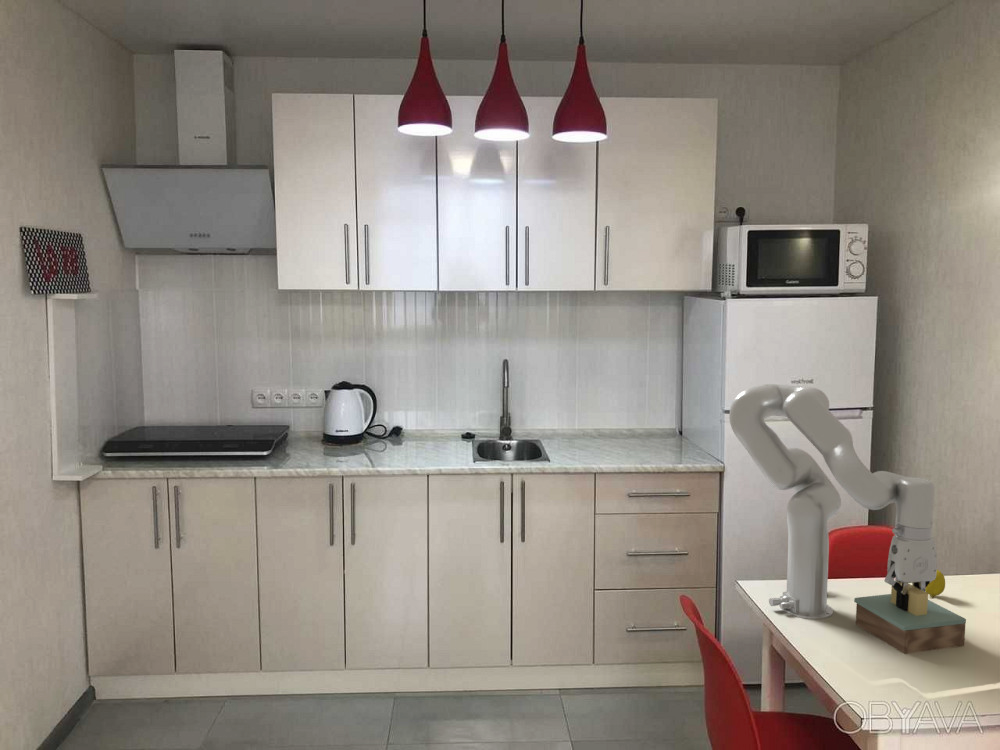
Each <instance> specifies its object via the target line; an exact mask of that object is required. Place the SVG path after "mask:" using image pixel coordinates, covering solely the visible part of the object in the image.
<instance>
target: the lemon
mask: <svg viewBox="0 0 1000 750" xmlns="http://www.w3.org/2000/svg"><path fill="white" fill-rule="evenodd" d="M945 588H946V578H945V575H944V574H943V573H942V571H940V569H937V574H936V579H935V580H933V581H932V582H930V583H929V584H928V586H927V587H926V588H925V592H926V593H928V596H930V597H931V598H935V597H936V596H939V595H941V594H943V592H944V591H945Z"/></svg>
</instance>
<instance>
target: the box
mask: <svg viewBox="0 0 1000 750" xmlns="http://www.w3.org/2000/svg"><path fill="white" fill-rule="evenodd" d="M855 607H856V608H855V610H856V611H855V612H856V613H855V625H856V626H858V627H860V628H861V629H863V630H864V631H866V632H867V633H868V634H871V635H873V637H876V638H878V639H879V640H881V641H882V642H884V643H886V644H888V645H889V646H890V647H892V648H894V649H895V650H897V651H899V652H900V653H902V654H903V655H905V654H912V653H920V652H927V651H934V650H942V649H949V648H951V649H952V648H957V647H964V646H965V639H966V638H965V637H966V623H964V624H956V625H948V626H939V627H931V628H923V629H915V630H906V631H903V630H902V629H900V628H898V627H897V626H895V625H893V624H891V623H890V622H888V621H886V620H885V619H883V618H881V617H879V616H878V615H876V614H874V613H873V612H871V611H869V610H867V609H866V608H864V607H862V606H861V605H859V604H857V603H856V606H855Z"/></svg>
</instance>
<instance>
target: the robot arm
mask: <svg viewBox="0 0 1000 750" xmlns="http://www.w3.org/2000/svg"><path fill="white" fill-rule="evenodd" d="M728 416H729V417H728V418H729V424H730V427H731V430H732V432H733V434H734V436H736V438H737V440H738V441H739V442H740V443H741V445H742V446H743V447H744V449H745V450H746V452H747V453H748V454H749V456H750V457H751V458H752V461H754V463H755V464H756V466H757V467H758V469H759V470H760V472H761V473H762V474H763V475H764V477H765V478H766V480H767V481H768V482H769V484H770V485H771V486H772V487H774V488H775V489H776V490H779V491H788V490H791V489H792V490H793V491H794V494H793V495H792V496H791V498H790V499H789V501H788V503H787V505H786V523H787V535H788V537H787V539H788V540H787V569H786V570H787V571H786V573H787V575H786V591H782V595H781V596H779V597H773V598H772V597H771V598H769V599H768V604H769V606H770V607H777V606H779V608H780V609H781V611H783V612H784V613H786V614H787V615H791V616H793V617H797V618H799V619H800V618H801V619H806V620H807V619H808V620H823V619H827V618H829V617H831V616H833V615H834V611H833V608H832V606H830V605H829V604H827V603H828V601H827V600H828V577H829V556H830V555H829V551H830V550H829V549H830V548H829V547H830V542H829V541H830V537H829V531H828V522H829V520H831V519H832V518H834V516H836V515H837V513H839V511H840V509H841V506H842V498H841V495H840V494H839V490H838V489H837V488H836V486H835V485H834V483H833V482H832V481H831V479H829V478H830V477H828V476H827V474H826V473H825V472H824V470H823V469H822V468H821V466H820V465H819V464H818V462H817V461H816V460H815V458H813V456H812V455H810V454H809V453H808V452H807V451H805V450H803V449H802V448H798V447H790V448H789V447H788V448H787V446H786V445H785V444H784V443H783V441H782V440H781V438H780V437H779V436H778V434H777V433H776V431H774V430H773V429H772V427H770V426H768V424H767V423H766V421H765V419H767V418H769V417H772V416H773V417H774V416H775V417H784V418H787V420H789V422H790V423H792V425H793V426H794V427H795V428H796V429H797V430H798V431H799V432H800V433H801V434H802V435H803V437H805V438H806V439H807V440H808V441H809V443H811V444H812V446H813V447H814V448H815V449H816V450H817V451H818V452H819V453H820V454H821V456H822V457H823V460H824V462H825V463H826V466H827V467H828V468H829V470H830V472H831V474H832V476H833V477H834V478H835V480H836V482H838V484H839V485H840V487H841V488H843V489H844V490H845V492H846V493H847V494H848V495H850V497H851V498H852V499H853V500H854V501H855V502H857V503H858V504H859V506H861V507H863V508H865V509H868V510H872V511H876V510H877V511H878V510H882V509H883V508H885V507H887V506H889V504H894V503H895V504H896V508H895V509H896V510H895V511H896V512H895V527H893V528H892V529H891V530H892V534H893V536H892V539H891V541H890V542H891V543H890V546H889V551H888V557H887V558H888V559H887V574H886V576H885V577H884V582H885V583H886V584H888V585H890V586H891V588H892V587H893V588H894V590H896V591H897V593H896V606H897V607H898V608H900V609H902V610H904V611H907V610H908V598H909V595H908V594H906V593H907V588H908V584H911V585H912V586H914V587H916V588H918V589H920V590H922V591H924V592H925V588H926V587H927V586H928V584H929V583H930V582H932V581H933V580H935V579H936V574H937V570H938V568H937V567H938V564H937V563H938V560H937V559H938V557H937V546H936V541H935V538H934V537H933V536H932V535H933V521H934V520H933V519H934V503H935V490H936V489H935V488H936V487H935V484H934V483H933V481H931V480H930V479H926V478H922V477H915V476H905V475H901V474H898V473H894V472H891V471H886V470H878V471H875V472H873V473H872V471H870V470H869V469H868V467H867V466H866V465H865V464H864V463H863V462H862V461H861V459H860V457H859V456H858V454H857V453H856V449H855V447H854V442H853V441H854V440H853V437H852V433H851V431H850V430H849V429H848V428H847V427H846V426H845V425H844V424H843V423H842V422H841V421H840V420H839V419H838V418H837V417H836V415H834V414H833V413H832V412H831V411H830V401H829V398H828V396H827V395H826V393H825V392H823V391H822V390H821V389H818V388H816V387H812V386H797V385H787V384H785V385H784V384H775V383H767V384H762V385H761V384H760V385H758V386H752V387H749V388H747V389H744V390H743V391H740V393H738V394H737V395H736V396H735V397H734V399H733V401H732V402H731V406H730V408H729V415H728ZM901 583H902V586H901Z"/></svg>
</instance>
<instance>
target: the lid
mask: <svg viewBox="0 0 1000 750" xmlns="http://www.w3.org/2000/svg"><path fill="white" fill-rule="evenodd" d="M901 586H902V583H901ZM896 593H897V591H896V590H894V588H893V587H892V586H891V592H890V593H888V594H877V595H870V596H860V597H858V596H857V597H854V600H853V601H854V603H855V604H856V605H857V604H859V605H861V606H862V607H864V608H866V609H867V610H869V611H871V612H873V613H874V614H876V615H878V616H879V617H881V618H883V619H885V620H886V621H888V622H890V623H891V624H893V625H895V626H897V627H898V628H900V629H902V630H903V631H906V630H915V629H923V628H931V627H939V626H948V625H956V624H964V623H965V624H967V619H966V618H965V617H963V616H961V615H959V614H957V613H955V612H953V611H951V610H949V609H948V608H946V607H943V606H941V605H939V604H937V603H935V602H933V601H931V600H929V594H928V593H926V592H924V591H922V590H920V589H918V588H916V587H914V586H912V584H911V583H908V588H907V593H906V594H908V595H909V598H908V610H907V611H904V610H902V609H900V608H898V607H897V606H896Z"/></svg>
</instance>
